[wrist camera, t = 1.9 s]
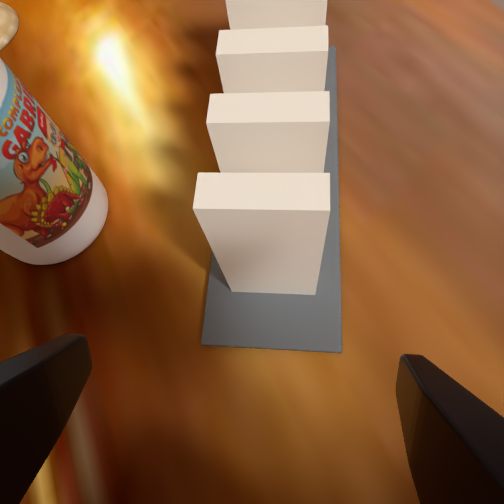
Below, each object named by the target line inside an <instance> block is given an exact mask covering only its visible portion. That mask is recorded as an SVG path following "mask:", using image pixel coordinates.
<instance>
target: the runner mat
mask: <svg viewBox="0 0 504 504" xmlns="http://www.w3.org/2000/svg"><path fill="white" fill-rule="evenodd" d="M324 91H329V95H330V124H329V132H328V140H327V148H326V156H325V164H324V173H330V215H329V220H328V226H327V232H326V237H325V243H324V249H323V254H322V260H321V266H320V271H319V277H318V282H317V288H316V294H315V295H303V294H278V293H253V292H232V291H231V289H230V287H229V285H228V283H227V280H226V278H225V276H224V274H223V272H222V270H221V268H220V266H219V264H218V261H217V259H216V257H215V255H214V253H213V251H212V257H211V265H210V273H209V281H208V289H207V298H206V306H205V314H204V322H203V330H202V338H201V345H206V346H223V347H241V348H259V349H276V350H294V351H312V352H330V353H342V323H341V275H340V227H339V179H338V131H337V83H336V46H330V47H328V59H327V69H326V80H325V90H324Z"/></svg>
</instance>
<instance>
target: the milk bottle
mask: <svg viewBox="0 0 504 504" xmlns="http://www.w3.org/2000/svg"><path fill="white" fill-rule="evenodd" d="M107 213H108V197H107V193H106V190H105V188H104V186H103V184H102V183H101V181H100V180H99V179H98V177H97V176H96V175H95V173H94V172H93V171H92V169H91V168H90V167H89V166H88V164H87V163H86V162H85V161H84V159H83V158H82V157H81V156H80V154H79V153H78V152H77V151H76V149H75V148H74V147H73V146H72V144H71V143H70V142H69V141H68V139H67V138H66V137H65V136H64V134H63V133H62V132H61V131H60V129H59V128H58V127H57V126H56V124H55V123H54V122H53V121H52V119H51V118H50V117H49V116H48V115H47V113H46V112H45V111H44V110H43V108H42V107H41V106H40V105H39V104H38V102H37V101H36V100H35V99H34V97H33V96H32V95H31V94H30V93H29V91H28V90H27V89H26V88H25V87H24V85H23V84H22V83H21V82H20V80H19V79H18V78H17V77H16V76H15V75H14V73H13V72H12V71H11V70H10V69H9V68H8V66H7V65H6V64H5V63H4V62H3V61H2V60H1V58H0V250H2V251H4V252H5V253H7V254H9V255H11V256H13V257H14V258H16V259H18V260H20V261H23V262H25V263H29V264H36V265H46V264H55V263H59V262H63V261H66V260H68V259H70V258H73V257H75V256H76V255H78V254H79V253H81V252H83V251H84V250H85V249H86V248H87V247H88V246H90V245H91V244H92V243H93V241H94V240H95V239H96V238H97V237H98V235H99V234H100V232H101V230H102V228H103V227H104V224H105V221H106V219H107Z"/></svg>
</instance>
